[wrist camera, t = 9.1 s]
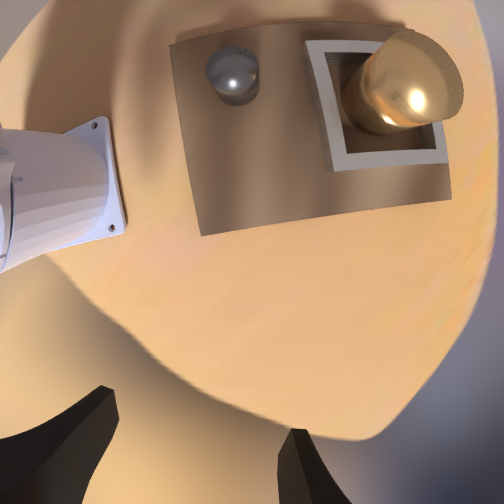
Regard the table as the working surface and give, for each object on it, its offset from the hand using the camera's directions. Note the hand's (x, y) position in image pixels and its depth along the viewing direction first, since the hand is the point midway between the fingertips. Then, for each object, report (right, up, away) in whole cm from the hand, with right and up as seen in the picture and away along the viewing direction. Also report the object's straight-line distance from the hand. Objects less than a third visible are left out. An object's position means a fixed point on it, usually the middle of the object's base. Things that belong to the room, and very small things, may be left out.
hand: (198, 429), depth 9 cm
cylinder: (+9, +15, +4) cm, 18 cm away
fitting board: (+6, +15, +5) cm, 17 cm away
